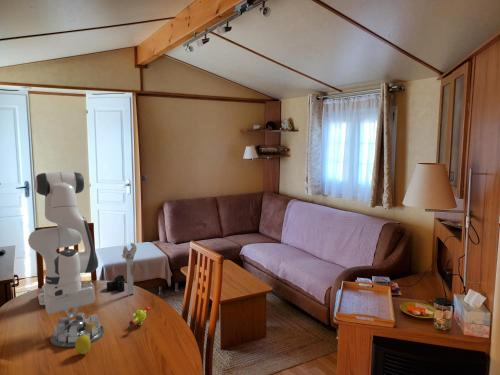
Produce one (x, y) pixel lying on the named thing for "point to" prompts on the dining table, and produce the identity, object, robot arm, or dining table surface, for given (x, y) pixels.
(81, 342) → the lemon
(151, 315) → the dining table surface
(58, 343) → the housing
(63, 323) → the cube bead bracelet
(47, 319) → the dining table surface
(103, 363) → the dining table surface
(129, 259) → the wrench
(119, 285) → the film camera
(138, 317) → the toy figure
